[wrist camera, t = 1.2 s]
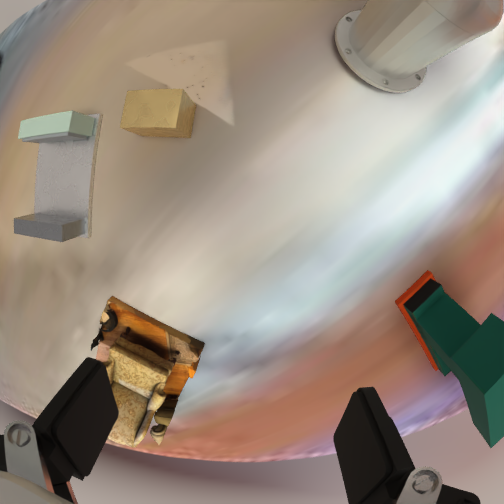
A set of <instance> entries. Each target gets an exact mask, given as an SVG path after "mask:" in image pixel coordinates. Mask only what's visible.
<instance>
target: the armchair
mask: <svg viewBox="0 0 504 504" xmlns="http://www.w3.org/2000/svg"><path fill="white" fill-rule="evenodd" d="M100 324H102V327H101V329H100V331H99V334H98V335H97V337H96V338H95V339H93V343H92V344H91V350H92V349H93V348H94V347H95V346H97V345H98V344H99V346H98V351H97V356H96V360H100V361H102V363H103V365H104V366H106V369H107V373H108V376H109V380H110V384H111V387H112V391H113V394H114V398H115V401H116V404H117V407H118V410H119V415H118V419H117V421H116V422H115V424H114V426H113V428H112V430H111V432H110V434H109V436H108V439H110V440H112V441H114V442H116V443H119V444H124V445H127V446H129V447H137V445H138V444H139V443H140V441H141V440H142V439H143V438H144V436H145V435H146V433H147V430H148V428H149V426H150V423H151V421H152V418H153V416H154V419H155V421H156V423H157V424H158V425H157V426H153V427H152V428H151V430H150V434H151V436H152V438H154V439H155V440H154V441H156V442H157V443H158V445H160V443H161V441H162V439H163V437H164V435H165V432H166V429H167V426H168V425H169V423H170V421H171V419H172V417H173V414H174V411H175V407H176V405H177V401H178V397H179V395H180V393H181V391H182V389H183V387H184V385H185V383H186V381H187V379H188V377H190V378H193V376H194V374H195V372H196V369H197V366H198V363H199V360H200V358H199V356H200V354H201V352H202V350H203V347H204V344H205V343H204V342H201V341H199V340H197V339H195V338H193V337H190V336H188V335H186V334H184V333H182V332H180V331H178V330H176V329H174V328H172V327H169V326H167V325H165V324H163V323H161V322H159V321H157V320H156V319H154V318H152V317H150V316H148V315H146V314H144V313H142V312H140V311H138V310H136V309H135V308H133V307H131V306H129V305H127V304H126V303H124V302H122V301H120V300H118V299H117V298H115V297H113V296H112V297H111V298H110V299H109V300H108V301H107V304H106V308H105V309H104V311H103V313H102V317H101V319H100ZM99 340H100V341H99ZM98 342H99V343H98ZM200 357H201V356H200ZM198 358H199V360H198ZM156 410H157V412H156ZM154 414H155V415H154Z"/></svg>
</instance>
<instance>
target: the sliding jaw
mask: <svg viewBox="0 0 504 504" xmlns="http://www.w3.org/2000/svg"><path fill="white" fill-rule="evenodd" d="M94 121H95V118H93V117H90V116H87V115H84V114H81V113H78V112H75V111H67V112H61V113H55V114H50V115H45V116H40V117H35V118H31V119H27V120H23V121H21V125H20V131H19V137H18V139H23V140H22V141H23V142H34V143H46V142H56V141H66V140H79V139H86V137H88V136H92V132H93V126H94Z"/></svg>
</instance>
